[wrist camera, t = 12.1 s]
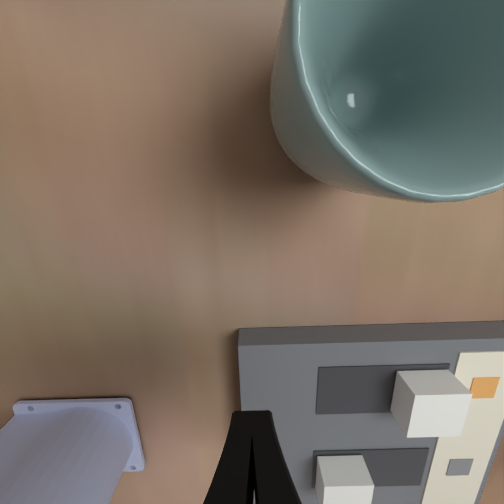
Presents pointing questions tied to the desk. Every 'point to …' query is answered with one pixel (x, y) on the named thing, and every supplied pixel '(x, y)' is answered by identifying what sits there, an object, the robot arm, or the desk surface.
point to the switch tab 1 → (343, 480)
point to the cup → (393, 96)
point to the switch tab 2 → (430, 403)
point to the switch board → (377, 403)
